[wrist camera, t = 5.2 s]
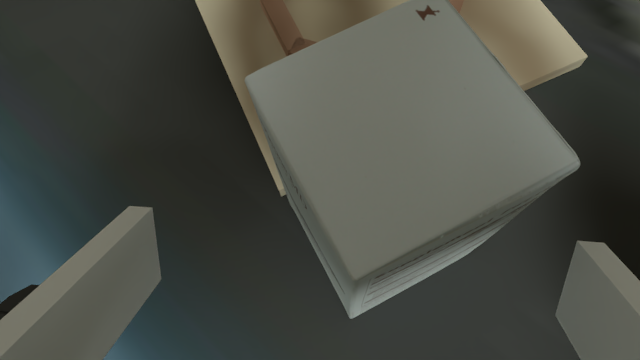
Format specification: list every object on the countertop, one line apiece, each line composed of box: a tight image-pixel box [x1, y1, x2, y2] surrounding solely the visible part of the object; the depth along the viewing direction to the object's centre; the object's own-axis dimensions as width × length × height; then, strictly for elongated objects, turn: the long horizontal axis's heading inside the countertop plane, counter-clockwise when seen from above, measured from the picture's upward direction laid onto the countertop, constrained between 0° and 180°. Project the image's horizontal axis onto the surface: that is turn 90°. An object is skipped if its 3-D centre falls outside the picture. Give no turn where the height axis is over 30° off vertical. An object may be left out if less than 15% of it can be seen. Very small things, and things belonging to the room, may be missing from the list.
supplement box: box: [245, 0, 580, 319], centre depth 19 cm, size 7×7×13 cm
